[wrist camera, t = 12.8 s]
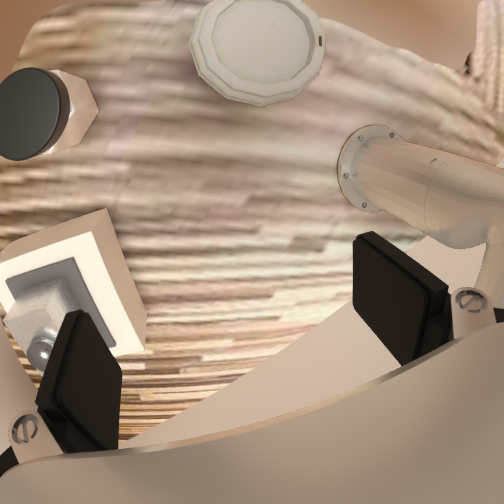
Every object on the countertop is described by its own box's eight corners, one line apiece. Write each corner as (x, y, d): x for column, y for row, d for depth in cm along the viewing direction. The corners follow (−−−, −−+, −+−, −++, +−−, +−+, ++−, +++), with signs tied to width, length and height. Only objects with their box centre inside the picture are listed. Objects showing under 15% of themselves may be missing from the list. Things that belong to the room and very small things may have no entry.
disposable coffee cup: (185, 112, 32) (191, 108, 19) (183, 27, 27) (190, -26, 14) (274, 108, 34) (334, 108, 21) (273, 27, 29) (329, -14, 16)
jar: (61, 65, 25) (17, 49, 15) (111, 95, 29) (81, 86, 18) (24, 129, 27) (-29, 141, 17) (71, 160, 31) (30, 182, 20)
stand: (106, 207, 34) (89, 233, 27) (147, 312, 42) (144, 353, 34) (10, 242, 32) (-19, 272, 25) (57, 333, 39) (43, 372, 32)
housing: (63, 276, 28) (40, 317, 21) (97, 340, 32) (88, 386, 25) (23, 289, 27) (-3, 329, 20) (58, 348, 31) (45, 392, 25)
